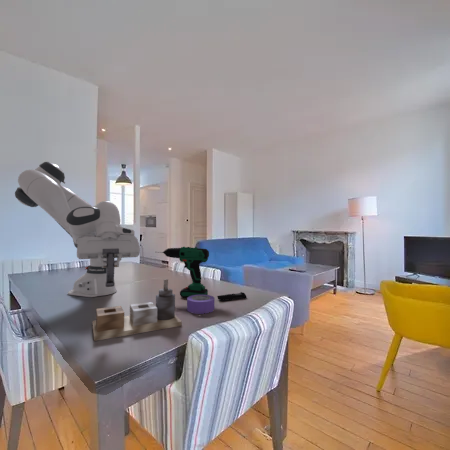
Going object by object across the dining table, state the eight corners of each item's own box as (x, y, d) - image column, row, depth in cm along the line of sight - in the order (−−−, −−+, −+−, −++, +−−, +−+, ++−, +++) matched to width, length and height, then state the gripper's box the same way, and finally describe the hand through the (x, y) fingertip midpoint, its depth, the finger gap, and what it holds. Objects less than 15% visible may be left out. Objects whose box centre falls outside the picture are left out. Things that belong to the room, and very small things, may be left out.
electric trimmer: (215, 301, 126) (215, 294, 126) (243, 297, 133) (243, 290, 133) (219, 303, 123) (219, 296, 123) (247, 299, 130) (247, 292, 130)
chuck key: (102, 287, 86) (102, 249, 86) (101, 285, 89) (102, 248, 89) (118, 286, 88) (119, 248, 88) (117, 284, 91) (118, 248, 91)
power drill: (205, 299, 126) (206, 247, 126) (150, 295, 132) (151, 245, 132) (208, 296, 131) (209, 246, 131) (155, 292, 137) (156, 244, 137)
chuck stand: (94, 341, 80) (95, 290, 80) (92, 325, 93) (93, 281, 92) (181, 325, 94) (182, 282, 94) (170, 313, 106) (170, 275, 106)
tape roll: (187, 305, 118) (188, 294, 118) (213, 305, 119) (214, 294, 119) (185, 314, 106) (186, 301, 106) (214, 314, 107) (215, 301, 107)
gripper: (76, 229, 90) (74, 262, 81) (138, 230, 99) (142, 259, 91) (76, 241, 94) (75, 274, 85) (136, 241, 103) (140, 270, 95)
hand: (110, 266), depth 88 cm, fingers closed on chuck key, 2 cm apart
